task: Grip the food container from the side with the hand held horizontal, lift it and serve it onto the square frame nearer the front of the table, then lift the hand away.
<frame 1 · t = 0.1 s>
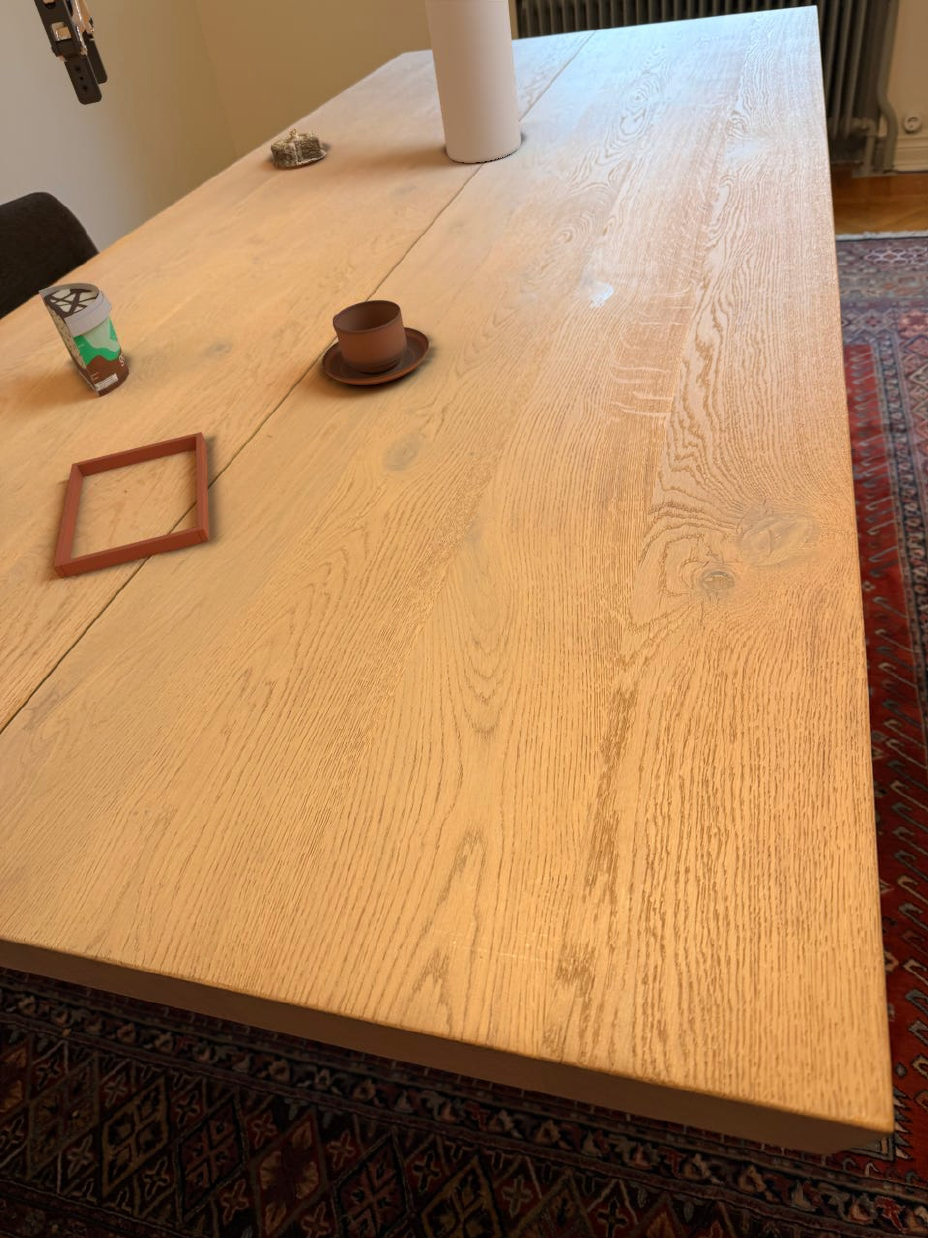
hand: (95, 92, 91), 29 cm above the table, tool pointing down, fingers open, 8 cm apart
cake: (300, 161, 164), on the table
cylinder vase: (484, 152, 153), on the table
food container: (113, 375, 110), on the table
cup and saucer: (379, 368, 101), on the table
square frame: (143, 515, 86), on the table
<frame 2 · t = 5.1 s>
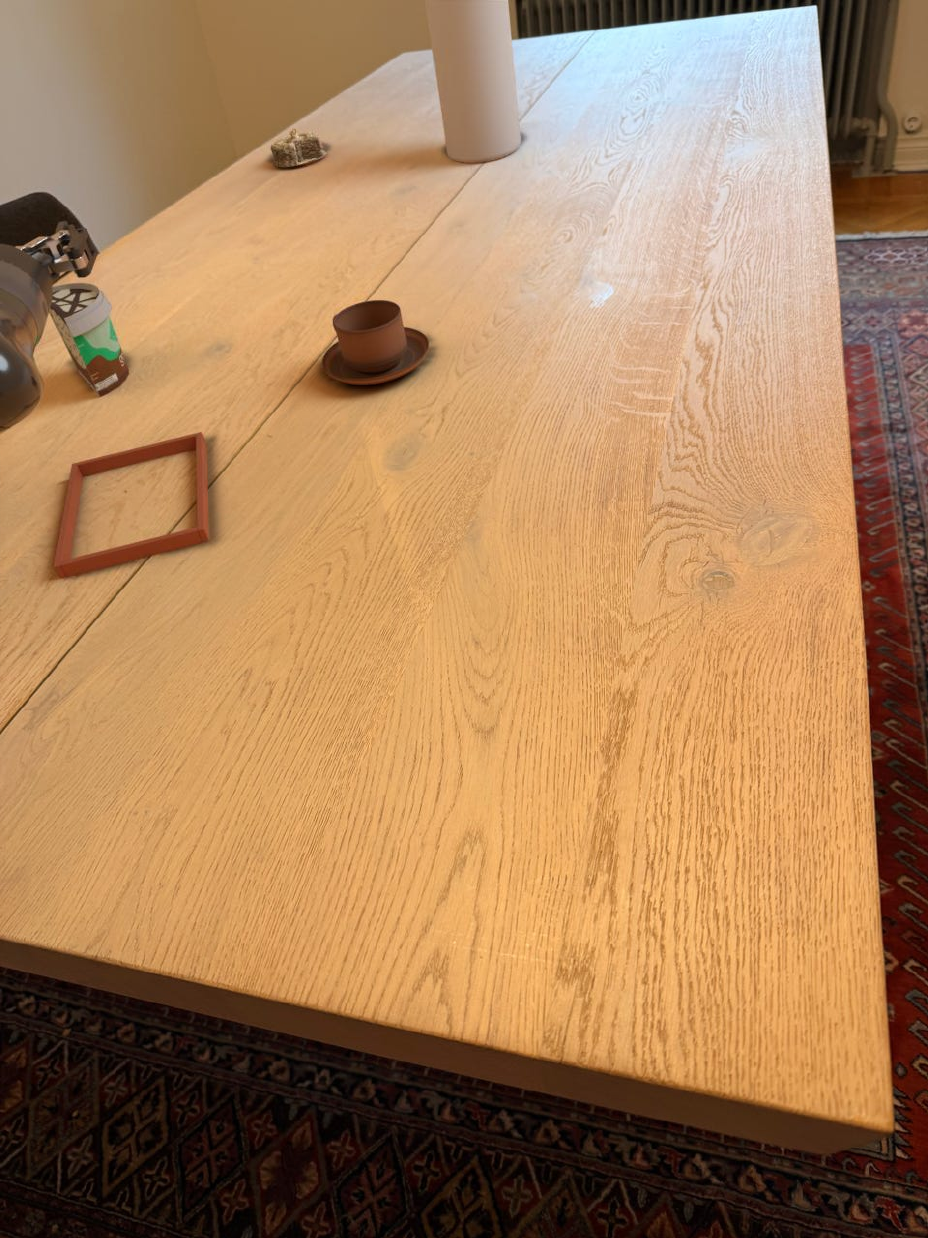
hand: (24, 241, 89), 20 cm above the table, tool horizontal, fingers open, 8 cm apart
nothing on the table moved.
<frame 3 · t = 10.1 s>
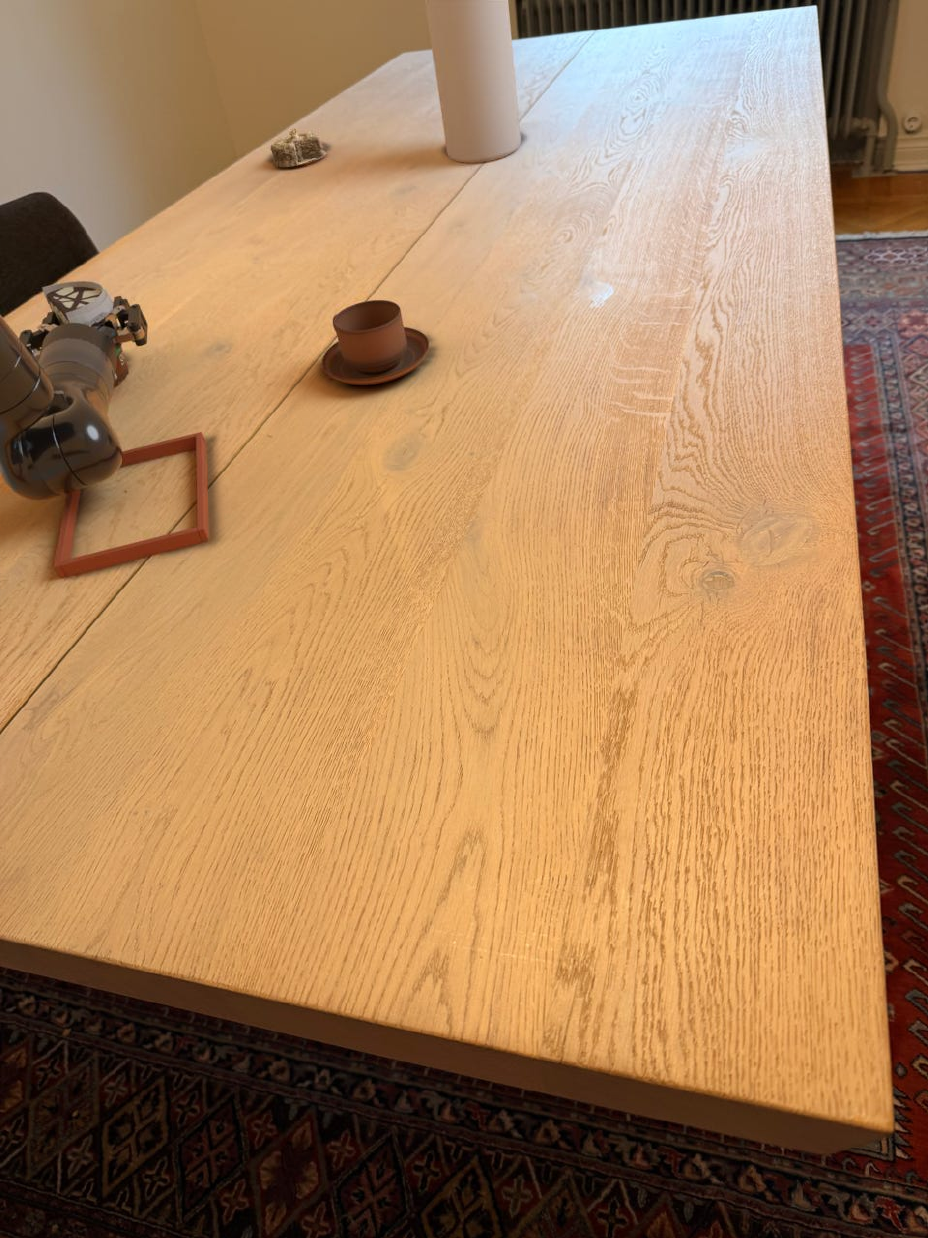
hand: (88, 311, 107), 7 cm above the table, tool horizontal, fingers closed on food container, 7 cm apart
food container: (112, 374, 110), on the table, touching gripper
everything else where it was.
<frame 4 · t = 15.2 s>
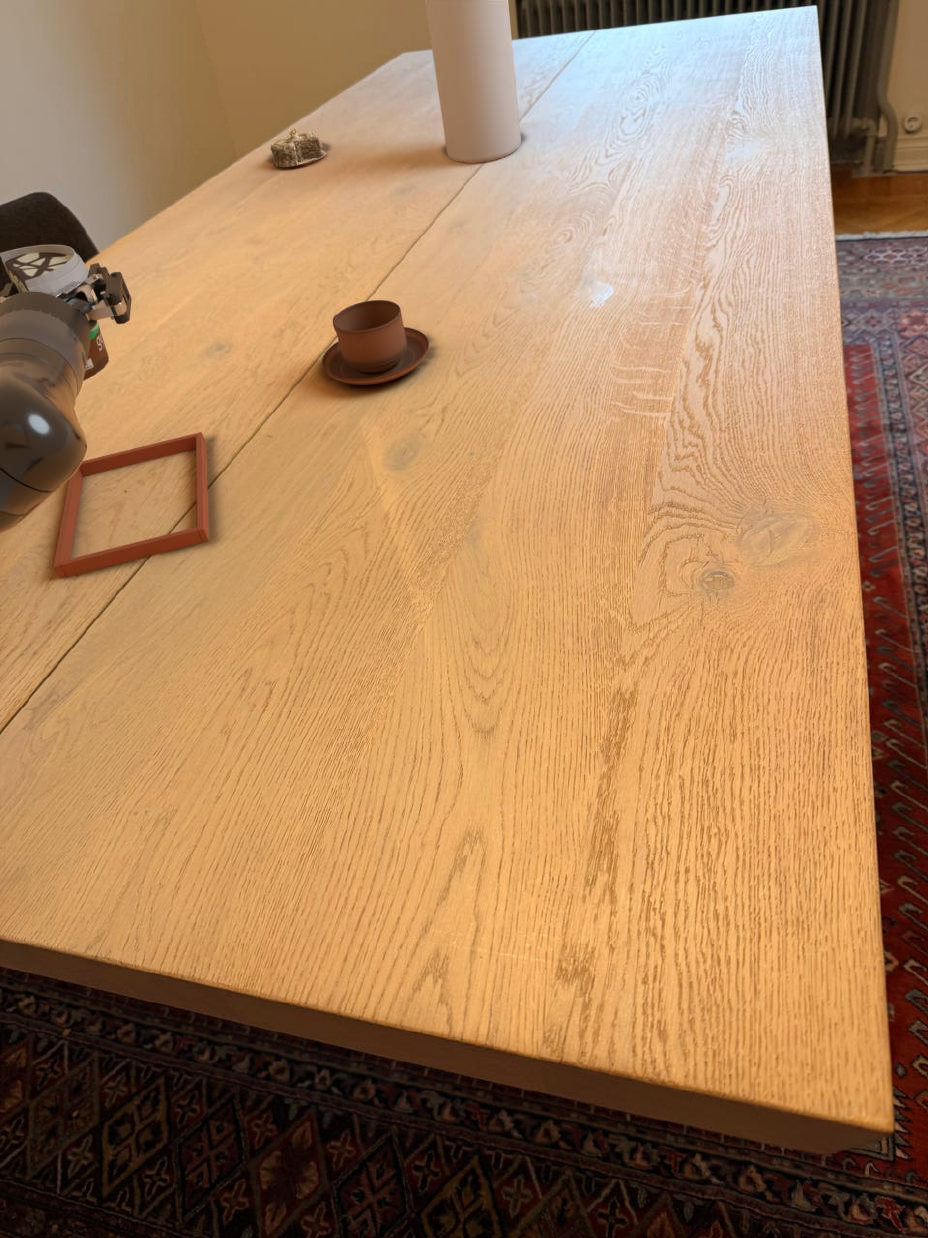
hand: (57, 283, 85), 18 cm above the table, tool horizontal, fingers closed on food container, 7 cm apart
food container: (89, 363, 88), point 11 cm above the table, touching gripper
everything else where it was.
when the fingers open (8 cm above the table, at t = 20.3 s): food container stays where it is, resting on square frame.
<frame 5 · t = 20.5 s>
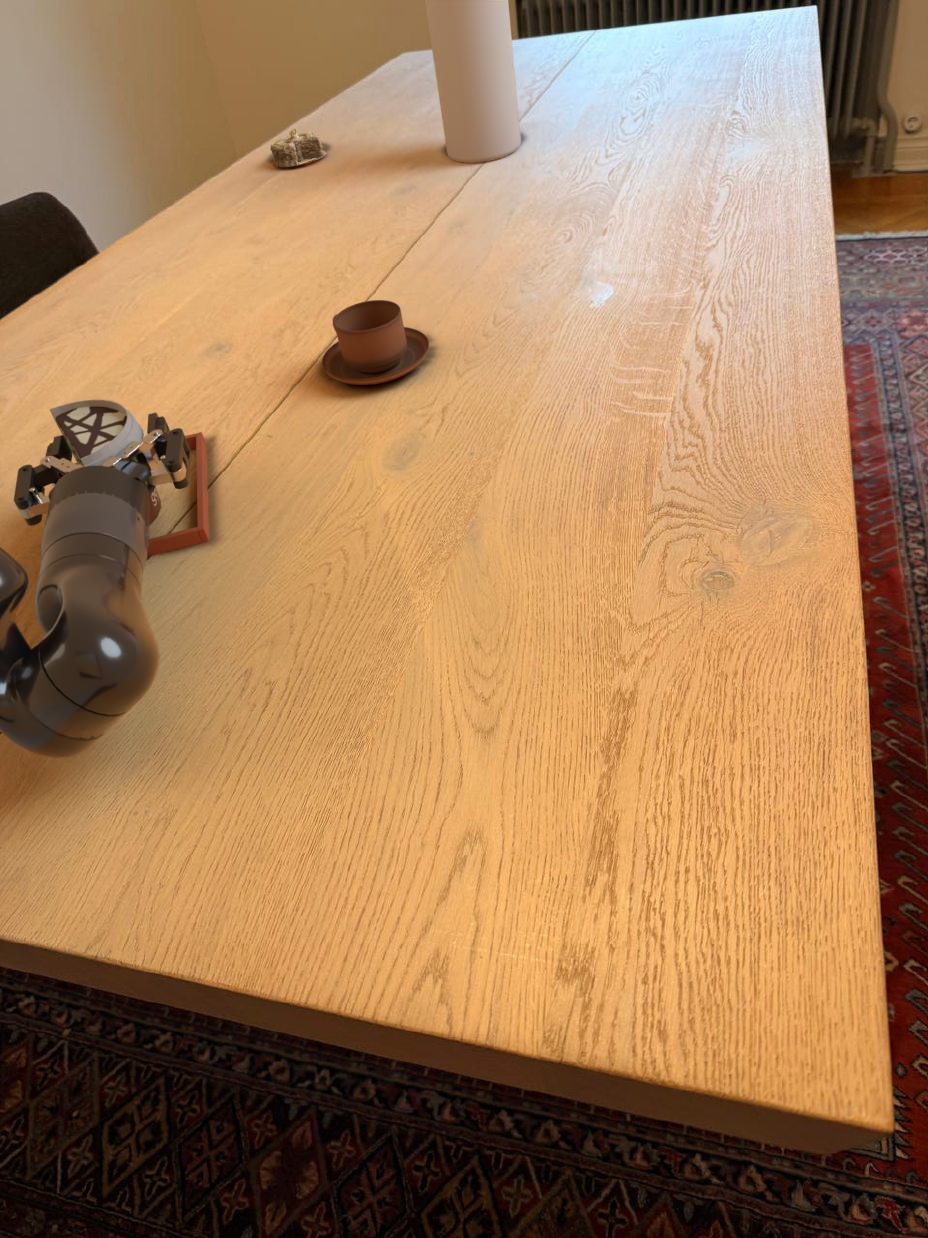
hand: (110, 433, 82), 8 cm above the table, tool horizontal, fingers open, 8 cm apart
food container: (143, 512, 86), resting on square frame
everything else where it was.
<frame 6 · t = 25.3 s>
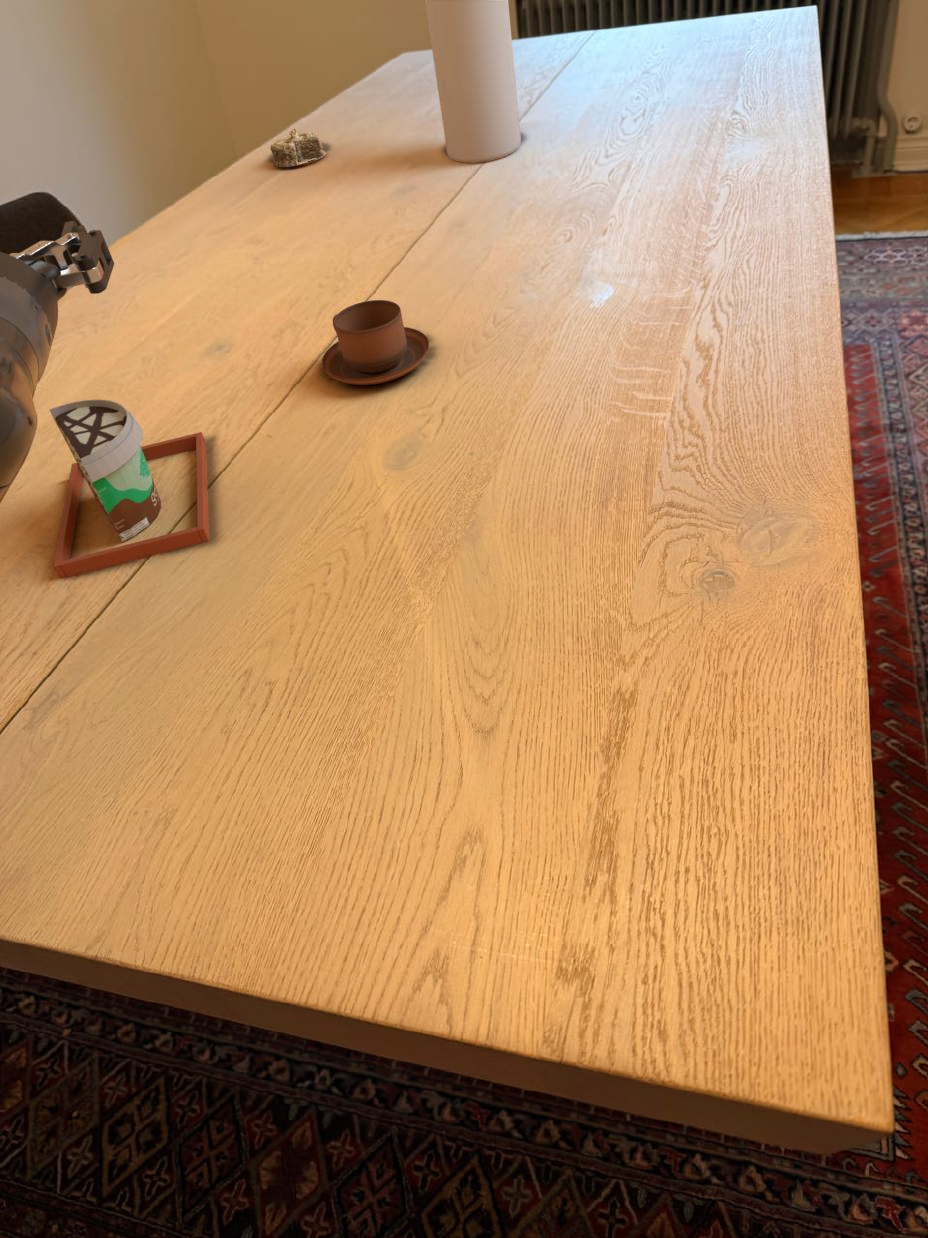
hand: (21, 246, 71), 25 cm above the table, tool horizontal, fingers open, 8 cm apart
nothing on the table moved.
at the end: food container inside the target area in the square frame (0.1 cm from its centre), point 0.3 cm above the square frame's base; food container tilted 0°; the gripper is holding nothing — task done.
